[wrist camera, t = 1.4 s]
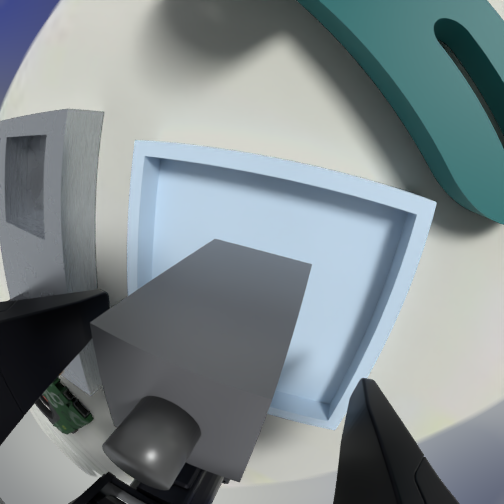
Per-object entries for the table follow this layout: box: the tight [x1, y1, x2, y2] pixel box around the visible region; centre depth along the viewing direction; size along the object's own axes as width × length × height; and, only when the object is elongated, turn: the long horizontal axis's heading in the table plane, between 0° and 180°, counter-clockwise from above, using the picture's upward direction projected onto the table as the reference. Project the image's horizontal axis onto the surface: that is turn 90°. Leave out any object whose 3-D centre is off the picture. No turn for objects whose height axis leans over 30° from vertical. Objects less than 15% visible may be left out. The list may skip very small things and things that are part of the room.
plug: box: [90, 239, 312, 490], centre depth 8 cm, size 4×4×9 cm
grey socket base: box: [0, 109, 104, 396], centre depth 12 cm, size 18×9×9 cm, turn 170°
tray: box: [127, 140, 437, 430], centre depth 12 cm, size 11×11×2 cm
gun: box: [35, 377, 93, 434], centre depth 25 cm, size 16×2×10 cm
